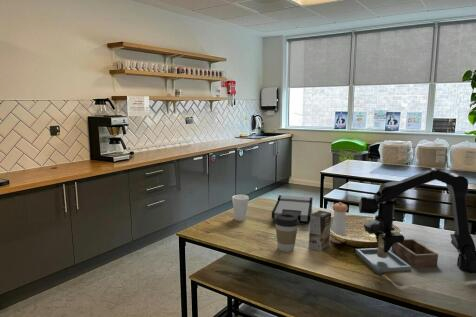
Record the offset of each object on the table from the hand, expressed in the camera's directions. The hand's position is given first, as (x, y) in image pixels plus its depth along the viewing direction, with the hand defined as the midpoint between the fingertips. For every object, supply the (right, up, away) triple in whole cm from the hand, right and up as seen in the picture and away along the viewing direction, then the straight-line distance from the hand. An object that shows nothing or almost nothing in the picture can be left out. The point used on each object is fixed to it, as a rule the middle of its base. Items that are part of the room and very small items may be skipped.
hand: (382, 250), depth 143 cm
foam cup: (-59, +3, +53) cm, 80 cm away
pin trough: (+15, -5, +4) cm, 16 cm away
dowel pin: (0, -2, 0) cm, 2 cm away
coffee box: (-23, -3, +17) cm, 28 cm away
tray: (0, -6, +1) cm, 6 cm away
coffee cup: (-38, -3, +14) cm, 41 cm away
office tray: (-28, +4, +59) cm, 65 cm away
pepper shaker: (-12, -2, +24) cm, 27 cm away
